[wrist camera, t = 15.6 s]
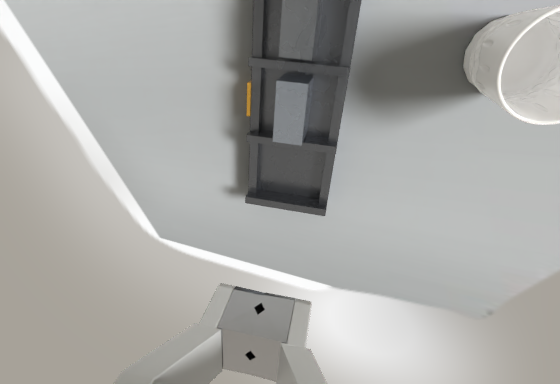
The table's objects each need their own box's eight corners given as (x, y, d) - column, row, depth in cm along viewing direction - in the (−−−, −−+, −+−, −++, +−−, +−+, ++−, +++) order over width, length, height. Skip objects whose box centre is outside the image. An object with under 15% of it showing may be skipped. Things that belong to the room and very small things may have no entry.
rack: (256, -37, 30) (237, -50, 25) (366, -31, 29) (369, -42, 24) (249, 189, 42) (236, 212, 37) (326, 201, 41) (323, 227, 36)
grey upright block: (285, 73, 34) (276, 80, 29) (313, 76, 33) (308, 84, 29) (281, 127, 37) (272, 141, 32) (307, 130, 36) (301, 145, 32)
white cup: (459, 106, 33) (499, 136, 24) (452, 26, 30) (494, 27, 21) (550, 83, 30) (629, 107, 22) (551, -8, 27) (646, -21, 19)
